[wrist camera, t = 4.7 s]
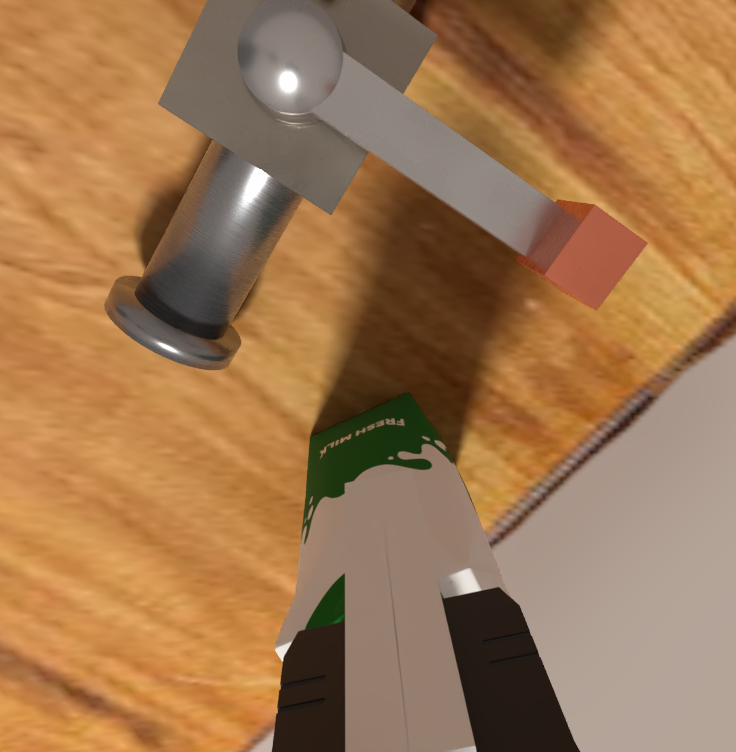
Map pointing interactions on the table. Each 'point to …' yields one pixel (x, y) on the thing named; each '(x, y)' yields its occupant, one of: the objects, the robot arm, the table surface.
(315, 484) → the milk carton
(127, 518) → the table surface
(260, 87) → the lever
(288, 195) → the valve body
